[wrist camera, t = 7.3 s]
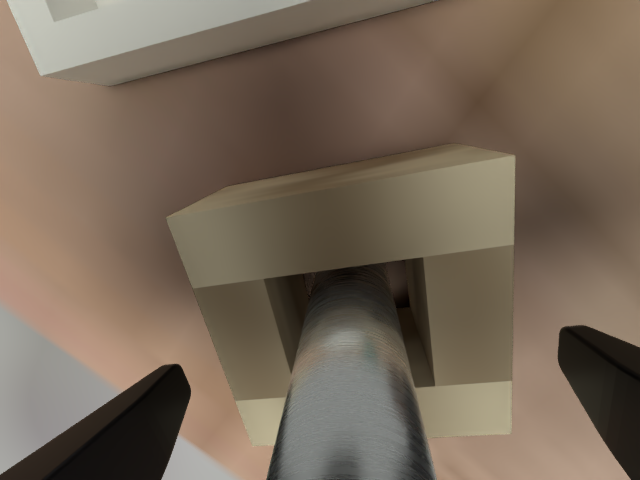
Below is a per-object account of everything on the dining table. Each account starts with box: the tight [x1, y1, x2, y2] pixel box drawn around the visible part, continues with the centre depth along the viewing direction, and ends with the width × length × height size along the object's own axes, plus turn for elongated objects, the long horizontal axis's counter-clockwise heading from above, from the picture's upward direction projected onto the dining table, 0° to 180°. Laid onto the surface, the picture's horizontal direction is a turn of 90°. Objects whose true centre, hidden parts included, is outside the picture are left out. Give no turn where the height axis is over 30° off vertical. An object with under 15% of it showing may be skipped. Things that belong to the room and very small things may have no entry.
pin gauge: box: [266, 262, 437, 480], centre depth 8 cm, size 3×3×9 cm
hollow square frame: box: [166, 143, 515, 446], centre depth 10 cm, size 8×8×4 cm
